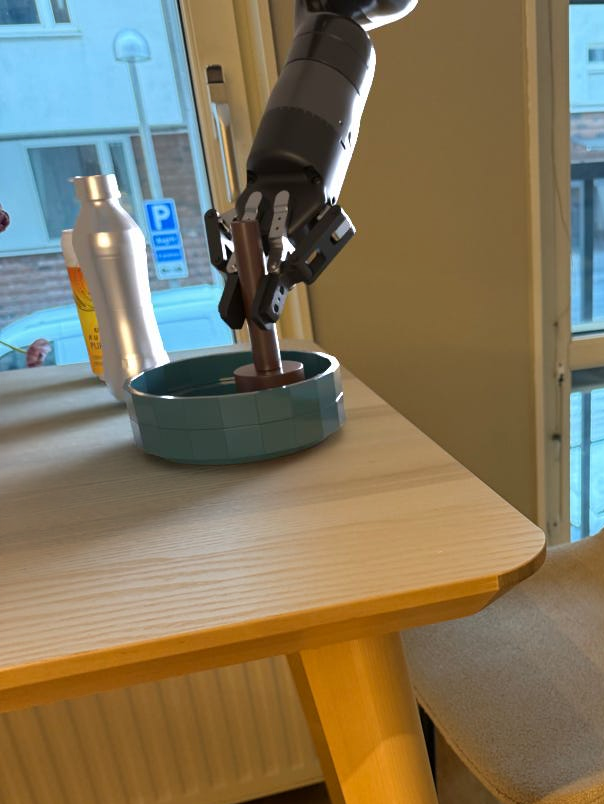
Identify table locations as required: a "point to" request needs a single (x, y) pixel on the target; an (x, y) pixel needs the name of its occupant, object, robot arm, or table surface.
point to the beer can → (83, 305)
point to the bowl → (232, 409)
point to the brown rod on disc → (263, 342)
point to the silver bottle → (116, 281)
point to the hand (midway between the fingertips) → (245, 323)
